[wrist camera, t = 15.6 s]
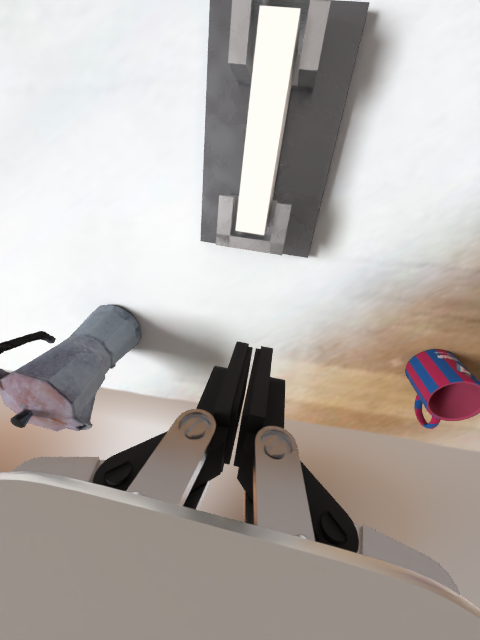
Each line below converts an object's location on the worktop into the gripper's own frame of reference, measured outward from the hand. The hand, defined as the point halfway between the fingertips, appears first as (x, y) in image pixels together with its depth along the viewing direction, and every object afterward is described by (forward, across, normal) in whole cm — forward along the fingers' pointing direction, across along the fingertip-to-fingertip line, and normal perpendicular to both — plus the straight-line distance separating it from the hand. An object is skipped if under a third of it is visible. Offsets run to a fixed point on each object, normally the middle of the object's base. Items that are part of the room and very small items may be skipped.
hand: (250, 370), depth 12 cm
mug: (+25, -25, +15) cm, 39 cm away
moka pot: (+25, +25, +17) cm, 39 cm away
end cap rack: (+25, +3, -11) cm, 28 cm away
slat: (+23, +3, -11) cm, 26 cm away
